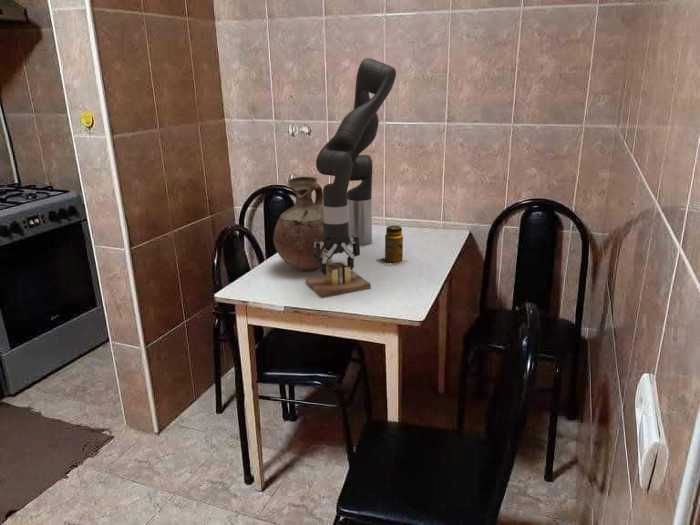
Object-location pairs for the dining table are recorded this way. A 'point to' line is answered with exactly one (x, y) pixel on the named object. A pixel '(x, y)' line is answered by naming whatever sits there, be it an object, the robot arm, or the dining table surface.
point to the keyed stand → (326, 289)
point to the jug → (301, 226)
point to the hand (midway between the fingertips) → (337, 271)
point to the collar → (333, 274)
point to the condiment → (393, 246)
